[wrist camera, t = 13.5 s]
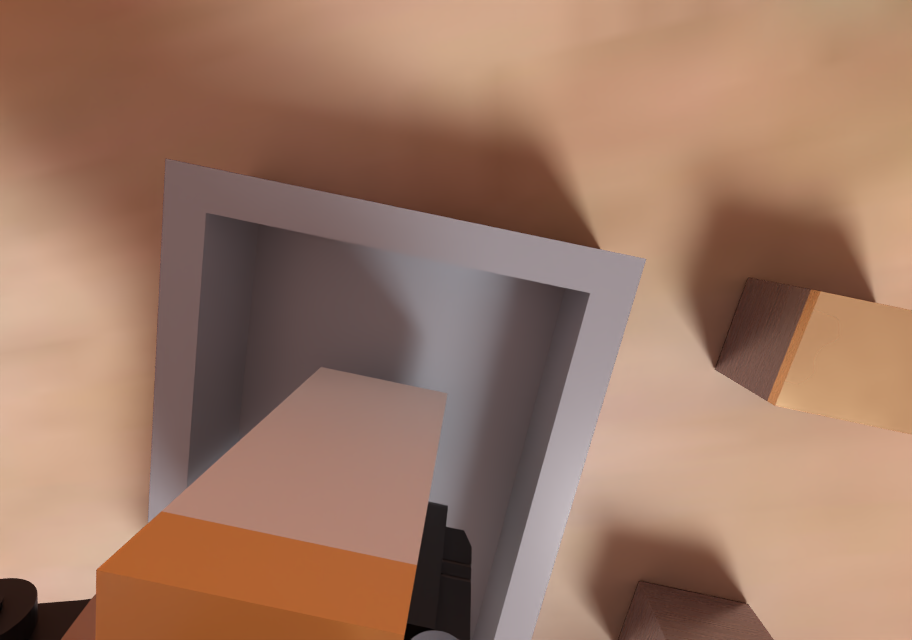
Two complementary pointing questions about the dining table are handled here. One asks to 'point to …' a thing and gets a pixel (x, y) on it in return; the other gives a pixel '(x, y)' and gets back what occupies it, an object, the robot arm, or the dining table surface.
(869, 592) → the dining table surface
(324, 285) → the tray
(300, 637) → the orange-topped block
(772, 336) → the small blocks
